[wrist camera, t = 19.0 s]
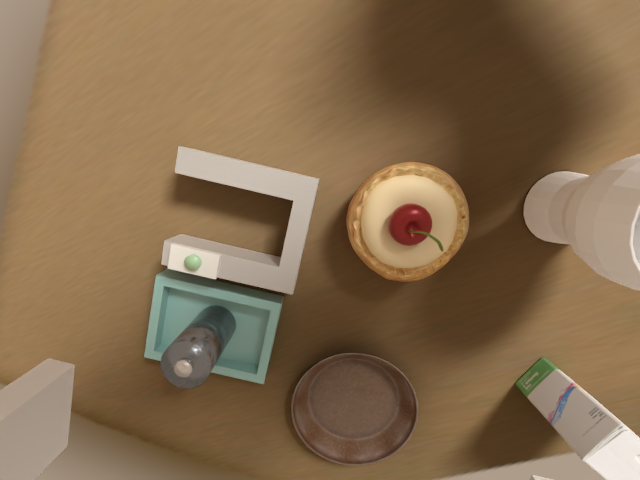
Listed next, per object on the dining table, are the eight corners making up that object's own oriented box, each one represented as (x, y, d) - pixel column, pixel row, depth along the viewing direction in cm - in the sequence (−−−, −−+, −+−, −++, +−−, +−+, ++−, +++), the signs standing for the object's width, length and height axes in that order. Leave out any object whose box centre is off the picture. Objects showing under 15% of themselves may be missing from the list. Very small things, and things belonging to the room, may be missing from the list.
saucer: (273, 418, 44) (269, 433, 42) (328, 321, 42) (328, 331, 39) (375, 467, 45) (378, 485, 43) (435, 376, 43) (442, 389, 40)
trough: (166, 269, 41) (156, 275, 38) (284, 296, 41) (281, 304, 39) (154, 346, 43) (143, 357, 40) (267, 372, 43) (263, 384, 40)
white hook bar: (194, 148, 38) (173, 145, 33) (320, 178, 38) (318, 179, 33) (177, 255, 40) (155, 267, 35) (296, 283, 41) (291, 298, 36)
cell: (200, 301, 41) (160, 340, 31) (239, 310, 41) (211, 351, 31) (194, 337, 41) (154, 386, 32) (232, 346, 42) (203, 397, 32)
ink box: (512, 383, 42) (581, 462, 31) (543, 354, 42) (625, 425, 30) (562, 424, 43) (646, 516, 32) (592, 397, 42) (691, 481, 31)
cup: (530, 270, 40) (648, 329, 25) (494, 186, 38) (598, 194, 23) (622, 228, 38) (805, 263, 24) (590, 139, 37) (764, 117, 22)
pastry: (379, 144, 38) (393, 131, 29) (473, 196, 39) (515, 199, 30) (326, 241, 40) (325, 256, 31) (417, 289, 40) (442, 318, 32)
